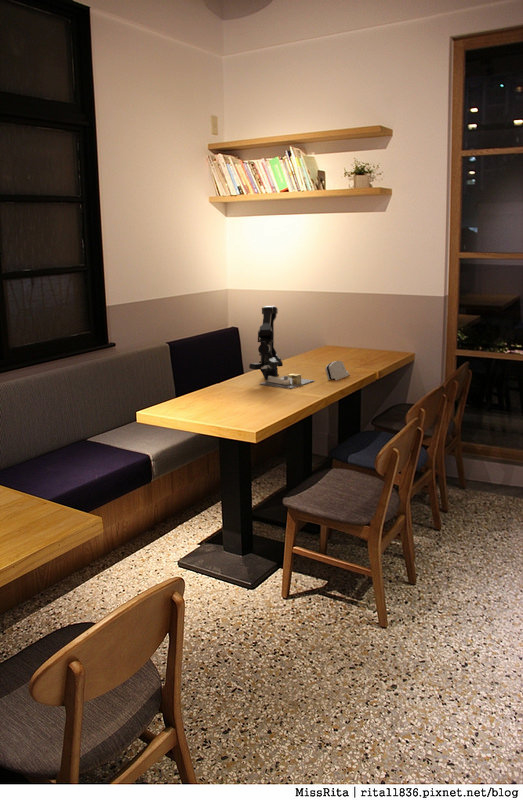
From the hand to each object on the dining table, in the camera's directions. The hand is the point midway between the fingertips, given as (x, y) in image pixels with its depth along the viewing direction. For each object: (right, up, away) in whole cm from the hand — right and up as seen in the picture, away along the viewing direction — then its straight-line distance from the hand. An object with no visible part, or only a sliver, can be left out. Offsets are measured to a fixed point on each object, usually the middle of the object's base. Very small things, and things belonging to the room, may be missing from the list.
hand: (266, 380), depth 371 cm
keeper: (+15, -2, -4) cm, 16 cm away
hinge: (+39, +2, +9) cm, 40 cm away
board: (+11, -1, -1) cm, 11 cm away
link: (+6, -1, -3) cm, 7 cm away
